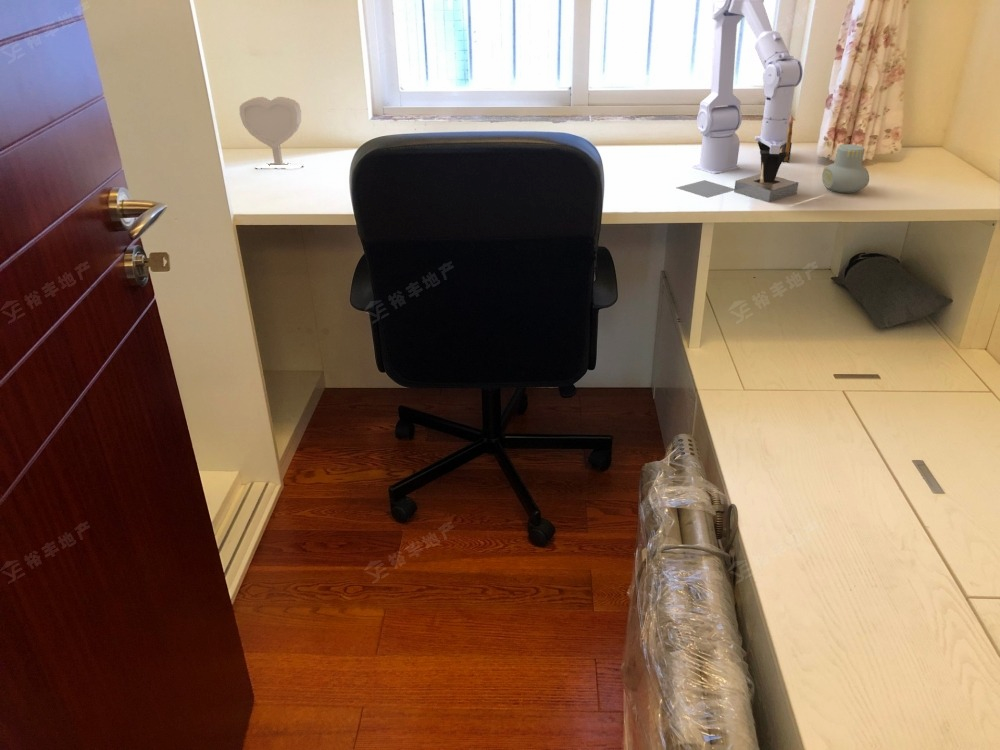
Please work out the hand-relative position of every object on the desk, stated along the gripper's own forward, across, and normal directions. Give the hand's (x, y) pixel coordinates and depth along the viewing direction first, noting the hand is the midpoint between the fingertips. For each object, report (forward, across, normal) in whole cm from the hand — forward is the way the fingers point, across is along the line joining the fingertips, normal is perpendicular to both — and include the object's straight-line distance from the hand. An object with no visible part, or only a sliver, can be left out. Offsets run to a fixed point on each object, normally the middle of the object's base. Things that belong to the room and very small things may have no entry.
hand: (767, 177), depth 184 cm
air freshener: (+4, -6, +18) cm, 20 cm away
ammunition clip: (+4, -34, +6) cm, 35 cm away
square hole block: (+4, 0, 0) cm, 4 cm away
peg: (+4, 0, 0) cm, 4 cm away
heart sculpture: (+4, -6, -127) cm, 127 cm away
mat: (+4, -2, -14) cm, 14 cm away
